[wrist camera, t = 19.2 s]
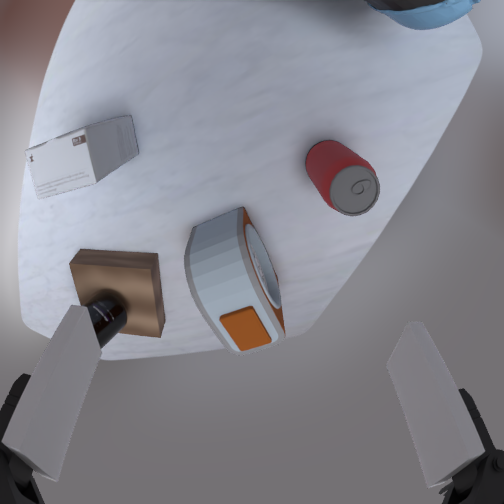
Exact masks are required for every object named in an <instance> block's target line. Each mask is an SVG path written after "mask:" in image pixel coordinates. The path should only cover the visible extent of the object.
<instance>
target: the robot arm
mask: <svg viewBox="0 0 504 504" xmlns="http://www.w3.org/2000/svg"><path fill="white" fill-rule="evenodd" d="M364 1H366V2H367V3H368V5H369V6H370V7H371V8H373V9H374V10H376V11H379V12H381V13H384V14H385V15H387V16H389V17H390V18H392V19H393V20H394V21H396V22H397V23H399V24H401V25H402V26H405V27H408V28H411V29H415V30H428V29H434V28H438V27H441V26H444V25H447V24H449V23H451V22H453V21H455V20H457V19H459V18H461V17H462V16H464V15H465V14H467V13H468V12H469V11H471V10H472V4H475V3H479V2H480V1H481V0H364ZM101 355H102V351H101V348H100V346H99V343H98V340H97V337H96V334H95V331H94V328H93V325H92V322H91V318H90V315H89V312H88V309H87V307H84V306H77V305H71V306H70V308H69V310H68V311H67V313H66V314H65V316H64V318H63V319H62V321H61V323H60V325H59V326H58V328H57V330H56V331H55V333H54V335H53V337H52V338H51V340H50V342H49V344H48V345H47V347H46V349H45V351H44V353H43V355H42V356H41V359H40V360H39V362H38V364H37V366H36V368H35V370H34V372H33V374H32V375H27V374H22V375H21V376H20V377H19V378H18V379H17V380H16V381H15V382H14V384H13V386H12V388H11V390H10V392H9V395H8V396H7V398H6V400H5V404H3V406H2V408H1V410H0V504H45V503H44V501H43V499H42V496H41V494H40V492H39V489H38V487H37V485H36V482H35V480H34V478H33V476H32V472H33V470H34V471H35V472H37V473H38V474H39V475H41V476H43V477H45V478H48V479H50V480H53V481H56V482H58V479H59V475H60V471H61V468H62V464H63V461H64V458H65V455H66V451H67V448H68V445H69V442H70V439H71V436H72V433H73V429H74V427H75V424H76V420H77V418H78V415H79V412H80V409H81V406H82V404H83V401H84V398H85V396H86V393H87V390H88V388H89V385H90V382H91V380H92V377H93V374H94V372H95V369H96V367H97V364H98V362H99V360H100V357H101ZM386 366H387V369H388V371H389V374H390V377H391V379H392V382H393V384H394V387H395V390H396V393H397V395H398V398H399V401H400V403H401V407H402V409H403V412H404V415H405V418H406V421H407V424H408V427H409V430H410V433H411V436H412V438H413V442H414V445H415V448H416V451H417V455H418V457H419V460H420V464H421V468H422V471H423V474H424V478H425V481H426V485H427V488H431V487H434V486H436V485H439V484H442V483H444V482H445V481H447V480H448V479H450V478H451V477H452V480H453V481H452V482H451V483H450V484H448V485H447V486H445V487H444V488H442V489H441V491H440V492H439V494H442V493H443V492H445V491H447V490H448V491H447V492H446V493H445V494H444V496H445V498H444V500H443V503H442V504H504V451H502V450H496V448H495V447H494V445H493V443H492V440H491V438H490V436H489V433H488V431H487V429H486V427H485V424H484V422H483V420H482V418H481V417H480V416H481V415H480V413H479V411H478V410H477V409H476V408H477V407H476V405H475V403H474V401H473V399H472V397H471V396H470V395H469V394H468V393H467V391H465V389H459V390H458V389H457V387H456V384H455V383H454V380H453V378H452V377H451V374H450V373H449V371H448V369H447V367H446V365H445V363H444V361H443V359H442V357H441V355H440V353H439V352H438V350H437V348H436V346H435V344H434V342H433V341H432V339H431V337H430V335H429V333H428V332H427V330H426V328H425V326H424V325H423V323H422V322H407V325H406V327H405V329H404V331H403V333H402V335H401V337H400V339H399V341H398V343H397V345H396V347H395V349H394V351H393V353H392V354H391V356H390V359H389V360H388V362H387V364H386Z"/></svg>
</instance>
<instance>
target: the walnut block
mask: <svg viewBox="0 0 504 504" xmlns="http://www.w3.org/2000/svg"><path fill="white" fill-rule="evenodd" d="M69 265H70V269H71V273H72V276H73V280H74V284H75V287H76V291H77V294H78V298H79V301H80V304H81V306H82V305H83V304H84V303H86V302H87V301H88V300H90V299H91V298H92V297H94V296H95V295H96V294H98V293H99V292H103V291H105V292H109V293H111V294H113V295H115V296H116V297H117V298H118V299H119V300H120V301H121V302H122V304H123V305H124V307H125V309H126V312H127V317H128V319H127V324H126V325H125V327H124V328H123V329H122V330H121V331H119V332H118V333H123V334H131V335H140V336H149V337H158V338H161V334H162V331H163V327H164V324H165V313H164V305H163V297H162V289H161V280H160V271H159V261H158V253H141V252H124V251H107V250H90V249H80V250H79V251H78V253H77V254H76V255H75V256H74V258H73V259H72V260H71V261H70V263H69Z"/></svg>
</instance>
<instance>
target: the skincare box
mask: <svg viewBox="0 0 504 504" xmlns="http://www.w3.org/2000/svg"><path fill="white" fill-rule="evenodd" d="M138 154H139V152H138V147H137V142H136V137H135V132H134V127H133V122H132V116H131V115H129V116H123V117H118V118H113V119H109V120H106V121H102V122H98V123H95V124H92V125H88V126H85V127H82V128H79V129H77V130H74V131H71V132H69V133H66V134H64V135H61V136H59V137H56V138H54V139H51V140H49V141H47V142H45V143H42V144H39V145H37V146H34V147H32V148H29V149H27V150H26V151H25V155H26V158H27V162H28V166H29V169H30V173H31V176H32V180H33V183H34V187H35V191H36V194H37V197H38V199H42V198H46V197H50V196H53V195H57V194H61V193H64V192H68V191H71V190H75V189H78V188H82V187H86V186H89V185H93V184H96V183H98V182H99V181H100V180H101V179H103V178H104V177H106V176H107V175H108V174H109V173H111V172H113V171H114V170H116V169H117V168H119V167H120V166H122V165H123V164H125V163H126V162H128V161H129V160H131V159H132V158H134V157H135V156H137V155H138Z"/></svg>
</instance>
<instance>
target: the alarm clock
mask: <svg viewBox="0 0 504 504" xmlns="http://www.w3.org/2000/svg"><path fill="white" fill-rule="evenodd" d="M184 264H185V273H186V278H187V282H188V285H189V289H190V292H191V295H192V297H193V299H194V301H195V304H196V306H197V308H198V309H199V311H200V313H201V314H202V316H203V318H204V319H205V320H206V322H207V323H208V325H209V326H210V328H211V329H212V330H213V332H214V333H215V334H216V336H217V337H218V339H219V340H220V341H221V343H222V344H223V345H224V347H225V348H226V349H227V351H229V352H230V353H232V354H235V355H247V354H250V353H254V352H257V351H260V350H264V349H267V348H270V347H274V346H276V345H278V344H280V343H281V342H282V341H283V340H284V338H285V328H284V320H283V313H282V306H281V296H280V290H279V285H278V278H277V275H276V273H275V271H274V269H273V267H272V264H271V261H270V259H269V256H268V254H267V251H266V249H265V247H264V245H263V243H262V241H261V239H260V237H259V235H258V233H257V232H256V230H255V229H254V227H253V225H252V223H251V221H250V219H249V217H248V215H247V212H246V210H245V208H244V207H240V208H238V209H236V210H233V211H231V212H228V213H226V214H224V215H221V216H219V217H216V218H214V219H212V220H209V221H207V222H205V223H202V224H200V225H198V226H195V227H193V229H192V232H191V235H190V238H189V241H188V244H187V247H186V250H185V256H184Z"/></svg>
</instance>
